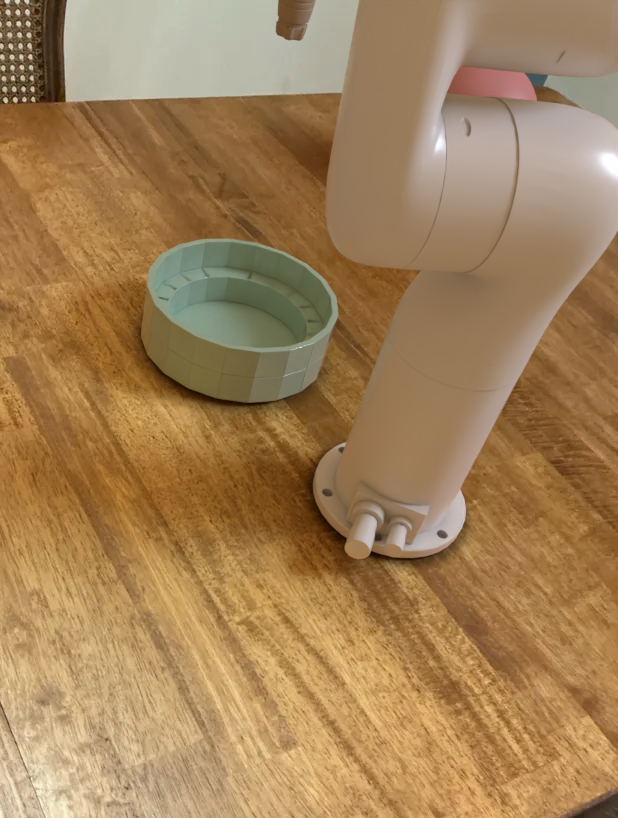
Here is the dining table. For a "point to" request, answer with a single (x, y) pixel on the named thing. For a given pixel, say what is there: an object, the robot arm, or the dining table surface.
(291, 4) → the handle
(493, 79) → the balloon
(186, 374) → the bowl
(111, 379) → the dining table surface
